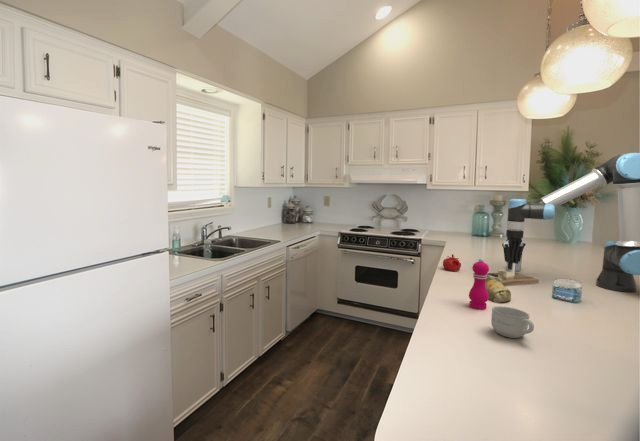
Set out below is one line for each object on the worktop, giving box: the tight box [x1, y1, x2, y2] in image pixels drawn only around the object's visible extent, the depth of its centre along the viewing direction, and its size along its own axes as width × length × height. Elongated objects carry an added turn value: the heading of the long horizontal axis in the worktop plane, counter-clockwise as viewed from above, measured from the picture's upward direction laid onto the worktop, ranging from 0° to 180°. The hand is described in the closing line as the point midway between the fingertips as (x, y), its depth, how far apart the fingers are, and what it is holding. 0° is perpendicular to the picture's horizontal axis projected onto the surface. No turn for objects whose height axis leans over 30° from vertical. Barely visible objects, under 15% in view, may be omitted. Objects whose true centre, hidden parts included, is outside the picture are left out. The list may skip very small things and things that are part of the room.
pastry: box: [485, 279, 512, 304], centre depth 149 cm, size 14×12×8 cm
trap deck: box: [485, 271, 540, 287], centre depth 178 cm, size 16×25×4 cm, turn 107°
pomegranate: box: [442, 254, 462, 272], centre depth 197 cm, size 10×10×9 cm
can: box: [506, 255, 523, 272], centre depth 200 cm, size 8×8×12 cm
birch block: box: [498, 269, 516, 281], centre depth 173 cm, size 5×5×4 cm
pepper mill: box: [468, 257, 490, 311], centre depth 136 cm, size 7×7×20 cm
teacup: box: [490, 305, 535, 339], centre depth 110 cm, size 14×11×8 cm
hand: (511, 275), depth 174 cm, fingers closed
